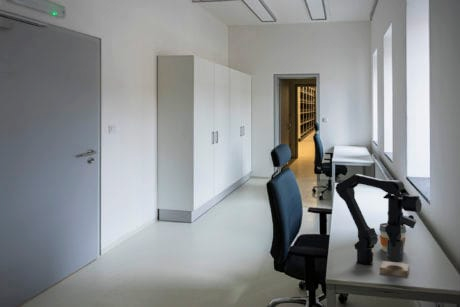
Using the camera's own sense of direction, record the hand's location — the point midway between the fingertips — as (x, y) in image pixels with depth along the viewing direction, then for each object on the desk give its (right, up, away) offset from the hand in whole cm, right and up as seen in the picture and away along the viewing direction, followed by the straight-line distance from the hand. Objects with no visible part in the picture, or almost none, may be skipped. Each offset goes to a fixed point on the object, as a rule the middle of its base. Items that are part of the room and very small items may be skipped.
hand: (394, 244), depth 179 cm
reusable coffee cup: (+10, -11, +27) cm, 31 cm away
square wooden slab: (0, -12, 0) cm, 12 cm away
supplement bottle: (0, -7, 0) cm, 7 cm away
